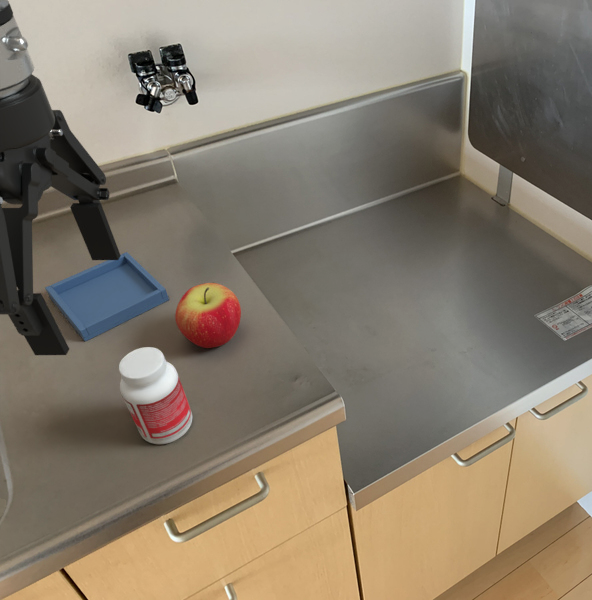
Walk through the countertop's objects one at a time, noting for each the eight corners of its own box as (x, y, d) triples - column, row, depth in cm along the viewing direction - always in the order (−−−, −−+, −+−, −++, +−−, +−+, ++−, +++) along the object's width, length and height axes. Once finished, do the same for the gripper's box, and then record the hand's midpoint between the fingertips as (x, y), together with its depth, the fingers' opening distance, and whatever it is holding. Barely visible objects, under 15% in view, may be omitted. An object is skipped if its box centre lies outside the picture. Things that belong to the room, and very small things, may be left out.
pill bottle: (203, 412, 75) (182, 349, 67) (174, 452, 70) (148, 389, 63) (160, 399, 76) (135, 336, 69) (129, 438, 72) (98, 375, 65)
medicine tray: (85, 341, 84) (79, 330, 82) (50, 298, 91) (44, 287, 89) (169, 299, 90) (165, 289, 89) (130, 262, 97) (126, 251, 96)
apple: (209, 369, 80) (192, 313, 73) (171, 339, 84) (152, 284, 78) (258, 335, 85) (246, 280, 78) (220, 309, 89) (206, 254, 82)
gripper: (-61, 168, 35) (69, 402, 49) (95, 28, 54) (158, 226, 68) (-192, 169, 35) (-24, 403, 49) (10, 28, 54) (90, 227, 68)
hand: (82, 301), depth 59 cm, fingers open, 13 cm apart
